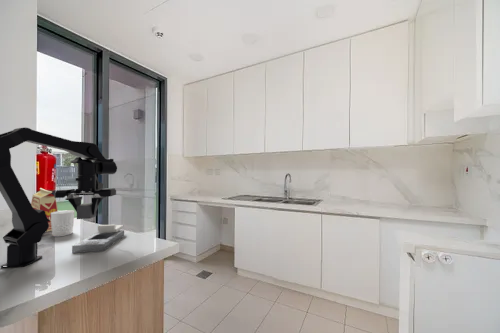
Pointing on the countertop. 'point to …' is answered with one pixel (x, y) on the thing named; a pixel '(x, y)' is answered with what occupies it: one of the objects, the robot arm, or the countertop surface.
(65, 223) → the white cup
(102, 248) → the socket plate
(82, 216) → the plug
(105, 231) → the panel
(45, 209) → the milk carton
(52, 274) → the countertop surface
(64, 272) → the countertop surface
